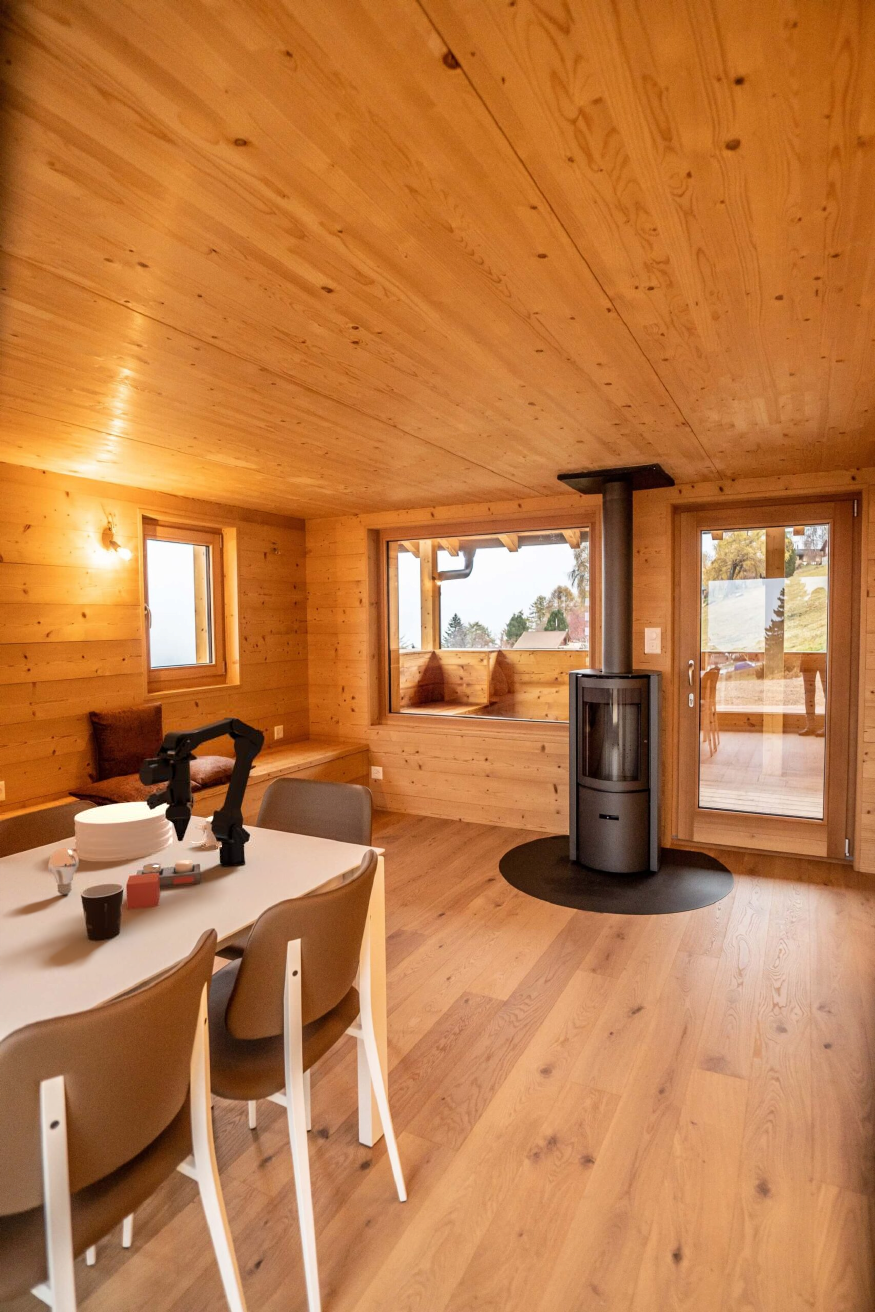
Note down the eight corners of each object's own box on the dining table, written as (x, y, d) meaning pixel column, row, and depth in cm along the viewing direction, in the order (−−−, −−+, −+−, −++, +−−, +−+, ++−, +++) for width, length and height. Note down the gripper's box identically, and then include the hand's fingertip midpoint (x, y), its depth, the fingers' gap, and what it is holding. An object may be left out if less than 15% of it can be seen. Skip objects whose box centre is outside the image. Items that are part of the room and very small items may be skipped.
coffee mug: (91, 928, 166) (89, 884, 165) (130, 926, 166) (129, 882, 166) (70, 950, 154) (68, 903, 154) (112, 948, 155) (110, 901, 154)
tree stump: (184, 840, 239) (184, 815, 239) (245, 832, 247) (244, 808, 246) (190, 856, 220) (189, 829, 220) (255, 847, 228) (254, 821, 228)
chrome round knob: (161, 870, 197) (161, 862, 197) (160, 875, 193) (160, 867, 193) (144, 872, 196) (143, 864, 196) (142, 877, 192) (142, 869, 192)
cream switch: (192, 867, 200) (192, 859, 200) (192, 872, 195) (192, 864, 195) (175, 869, 198) (175, 861, 198) (174, 874, 194) (174, 865, 194)
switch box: (200, 874, 202) (199, 863, 202) (199, 884, 194) (199, 873, 194) (137, 881, 197) (137, 870, 197) (134, 891, 189) (134, 880, 189)
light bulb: (67, 900, 184) (65, 853, 183) (43, 899, 185) (41, 852, 185) (86, 891, 191) (84, 845, 190) (62, 889, 192) (61, 844, 192)
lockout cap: (160, 895, 186) (159, 872, 186) (158, 905, 179) (157, 881, 179) (130, 899, 184) (129, 875, 184) (127, 909, 177) (126, 884, 177)
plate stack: (140, 831, 250) (139, 798, 249) (190, 844, 233) (189, 808, 233) (58, 852, 227) (56, 815, 227) (107, 867, 211) (106, 828, 210)
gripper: (150, 775, 203) (153, 830, 204) (143, 788, 185) (145, 849, 186) (193, 771, 206) (195, 826, 207) (189, 784, 188) (191, 845, 189)
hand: (181, 836), depth 197 cm, fingers open, 9 cm apart
